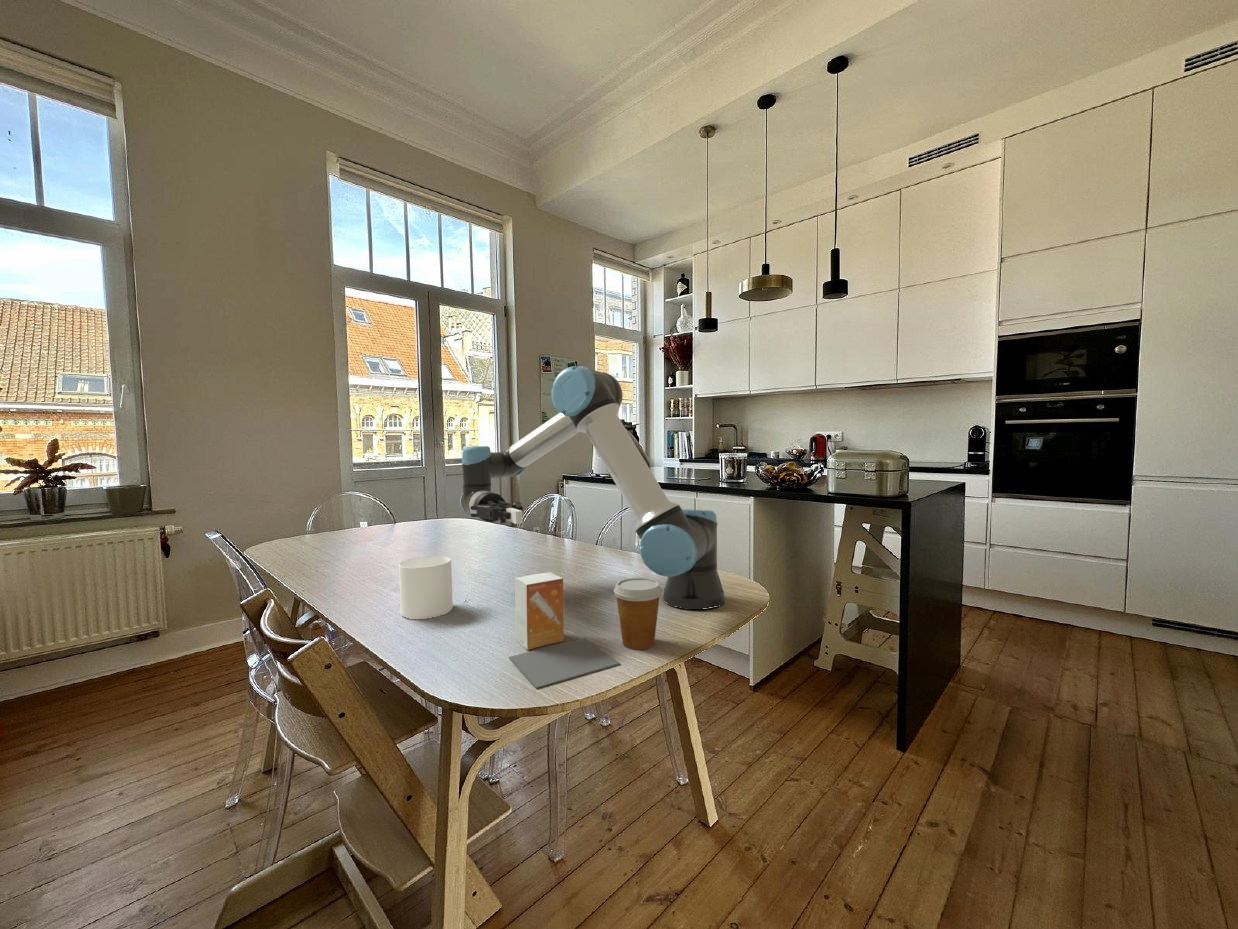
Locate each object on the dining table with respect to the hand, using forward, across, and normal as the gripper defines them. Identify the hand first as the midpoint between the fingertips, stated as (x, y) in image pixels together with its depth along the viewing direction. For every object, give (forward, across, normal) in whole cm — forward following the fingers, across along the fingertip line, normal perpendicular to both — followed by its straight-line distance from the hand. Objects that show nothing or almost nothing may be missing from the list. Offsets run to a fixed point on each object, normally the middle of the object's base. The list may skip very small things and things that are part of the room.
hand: (519, 517), depth 107 cm
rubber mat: (+22, 0, -24) cm, 32 cm away
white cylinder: (-22, +16, -24) cm, 36 cm away
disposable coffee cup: (+22, -16, -24) cm, 37 cm away
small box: (+10, 0, -24) cm, 26 cm away
